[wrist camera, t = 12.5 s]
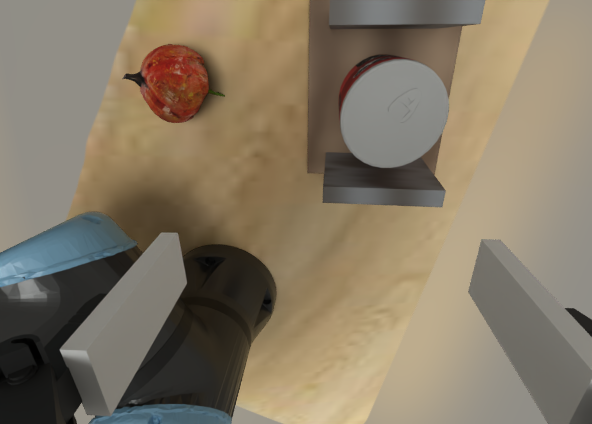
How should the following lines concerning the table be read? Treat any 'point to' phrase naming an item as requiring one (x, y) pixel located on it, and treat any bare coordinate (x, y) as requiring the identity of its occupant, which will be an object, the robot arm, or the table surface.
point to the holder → (353, 49)
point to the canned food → (391, 110)
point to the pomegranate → (173, 82)
